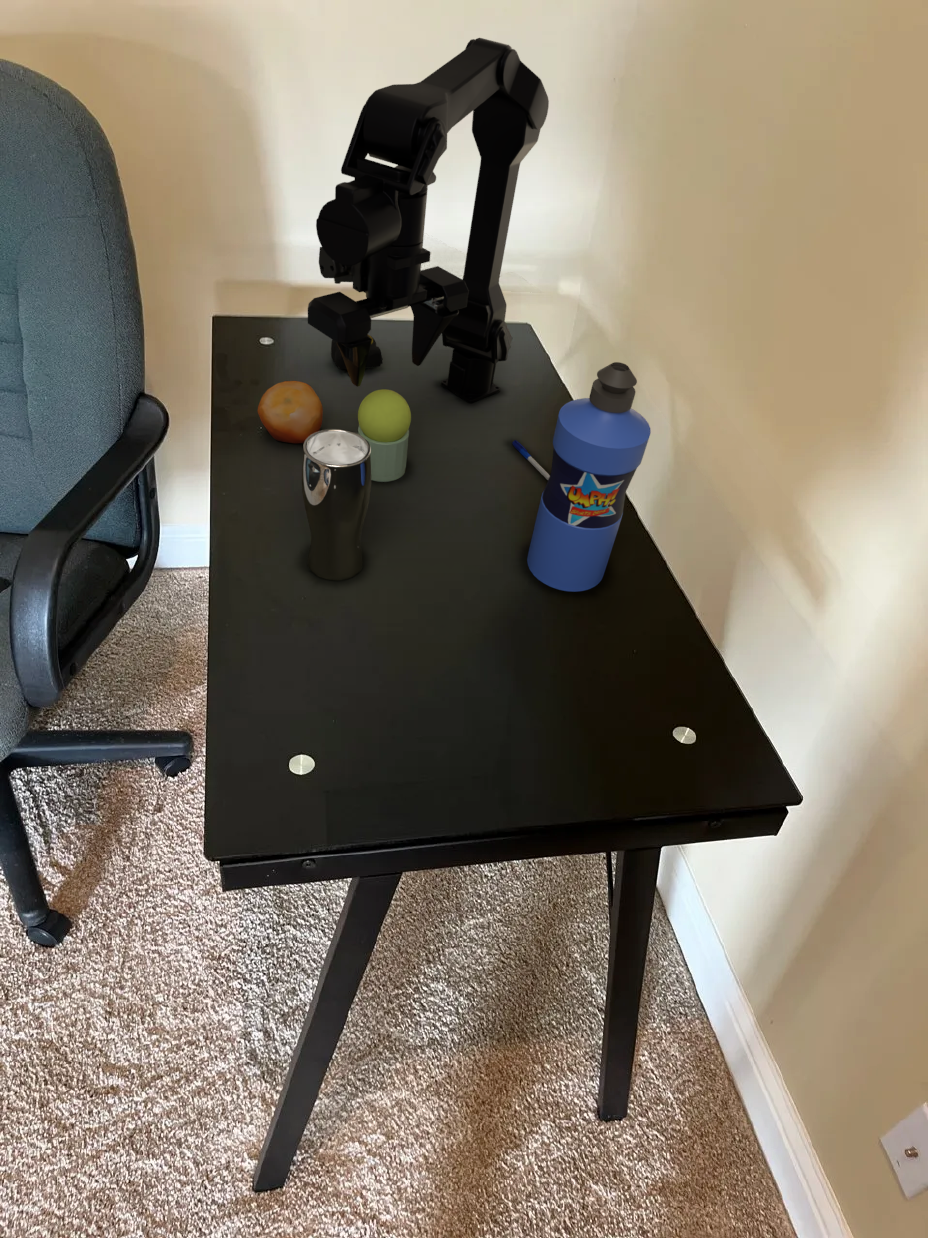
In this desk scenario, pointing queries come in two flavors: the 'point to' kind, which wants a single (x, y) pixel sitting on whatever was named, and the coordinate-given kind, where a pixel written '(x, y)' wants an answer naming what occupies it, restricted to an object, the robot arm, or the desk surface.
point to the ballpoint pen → (530, 458)
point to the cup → (387, 458)
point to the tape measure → (372, 360)
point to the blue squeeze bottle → (588, 482)
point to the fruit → (291, 411)
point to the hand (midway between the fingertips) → (386, 374)
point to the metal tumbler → (336, 500)
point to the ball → (384, 416)
